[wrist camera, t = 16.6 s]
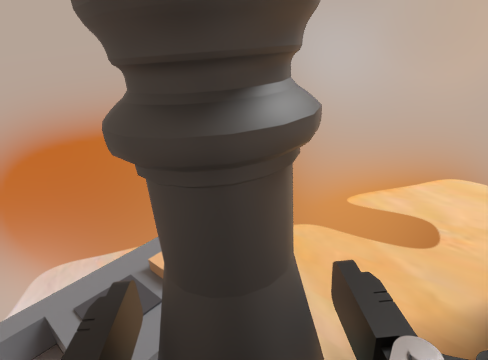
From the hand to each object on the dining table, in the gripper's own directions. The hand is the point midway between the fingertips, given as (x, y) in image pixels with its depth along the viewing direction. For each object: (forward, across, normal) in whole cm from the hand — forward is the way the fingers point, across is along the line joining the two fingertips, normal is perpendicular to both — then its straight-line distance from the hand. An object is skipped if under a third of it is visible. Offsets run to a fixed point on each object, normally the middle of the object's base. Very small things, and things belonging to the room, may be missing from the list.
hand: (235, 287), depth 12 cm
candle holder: (-2, 0, +12) cm, 12 cm away
